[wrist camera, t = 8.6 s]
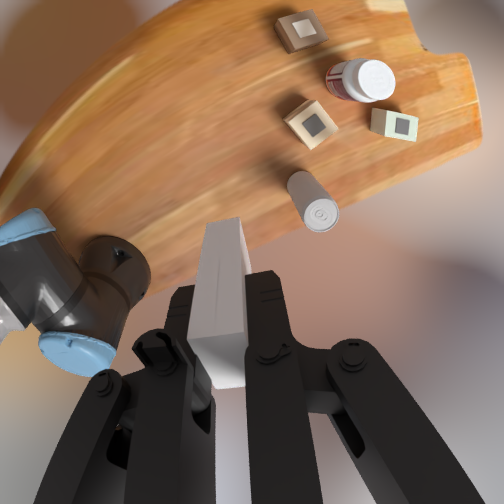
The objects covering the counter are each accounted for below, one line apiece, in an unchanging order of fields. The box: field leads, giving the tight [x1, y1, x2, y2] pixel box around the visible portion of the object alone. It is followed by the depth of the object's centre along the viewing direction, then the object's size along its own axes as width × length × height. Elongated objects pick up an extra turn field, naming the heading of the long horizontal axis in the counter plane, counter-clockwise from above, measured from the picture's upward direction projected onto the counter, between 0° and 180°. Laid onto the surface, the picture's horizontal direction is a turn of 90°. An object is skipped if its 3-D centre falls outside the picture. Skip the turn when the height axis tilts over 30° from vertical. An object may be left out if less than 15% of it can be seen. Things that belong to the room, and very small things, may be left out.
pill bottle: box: [326, 58, 395, 102], centre depth 29 cm, size 6×6×11 cm
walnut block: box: [274, 9, 329, 54], centre depth 28 cm, size 5×5×5 cm
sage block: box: [370, 108, 418, 142], centre depth 35 cm, size 6×4×5 cm, turn 90°
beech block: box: [283, 100, 338, 150], centre depth 35 cm, size 5×5×5 cm
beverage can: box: [287, 171, 339, 232], centre depth 38 cm, size 5×5×12 cm
